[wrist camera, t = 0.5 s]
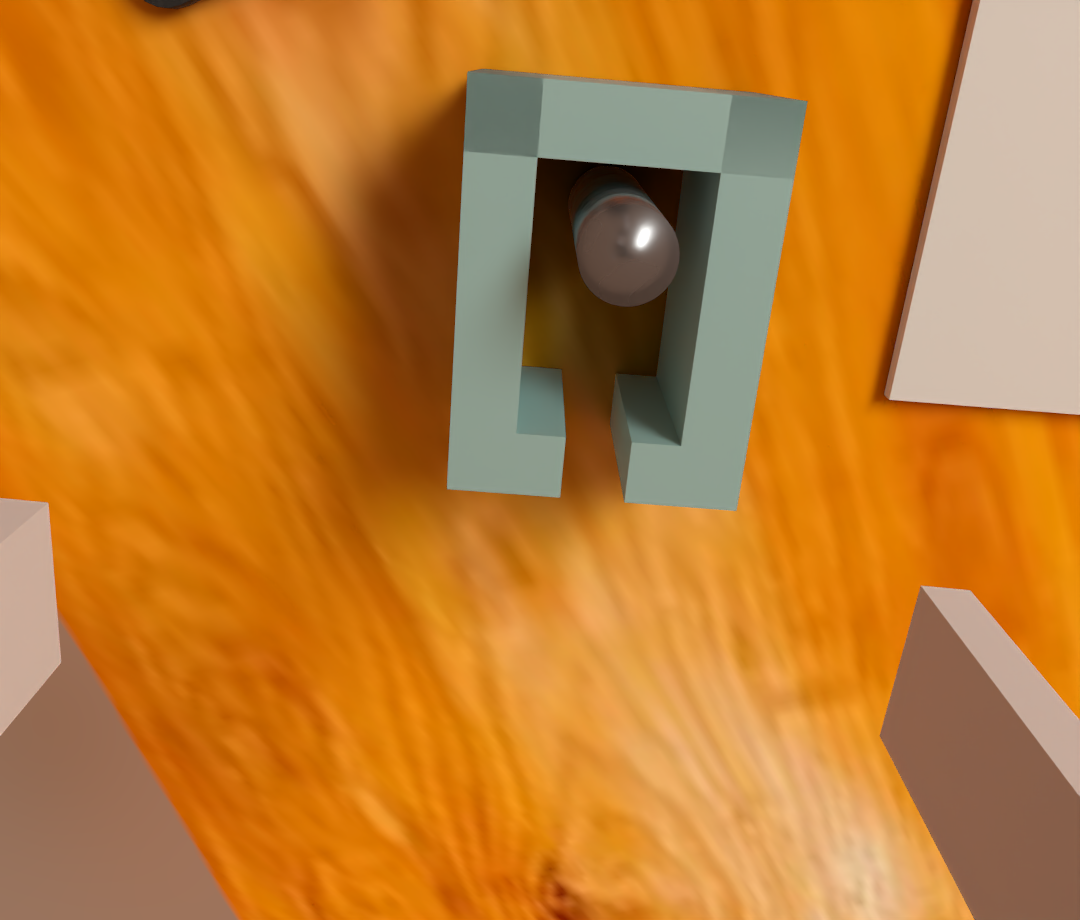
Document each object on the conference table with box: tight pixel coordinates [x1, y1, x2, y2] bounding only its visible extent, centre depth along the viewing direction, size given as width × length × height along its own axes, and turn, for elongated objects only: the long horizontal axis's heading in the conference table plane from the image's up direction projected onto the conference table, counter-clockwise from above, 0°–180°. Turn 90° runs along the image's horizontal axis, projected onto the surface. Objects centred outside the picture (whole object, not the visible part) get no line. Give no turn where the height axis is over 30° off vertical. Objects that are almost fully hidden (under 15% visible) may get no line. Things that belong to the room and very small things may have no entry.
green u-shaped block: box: [447, 69, 807, 511], centre depth 31 cm, size 12×9×7 cm
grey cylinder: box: [568, 166, 680, 307], centre depth 29 cm, size 3×3×10 cm
